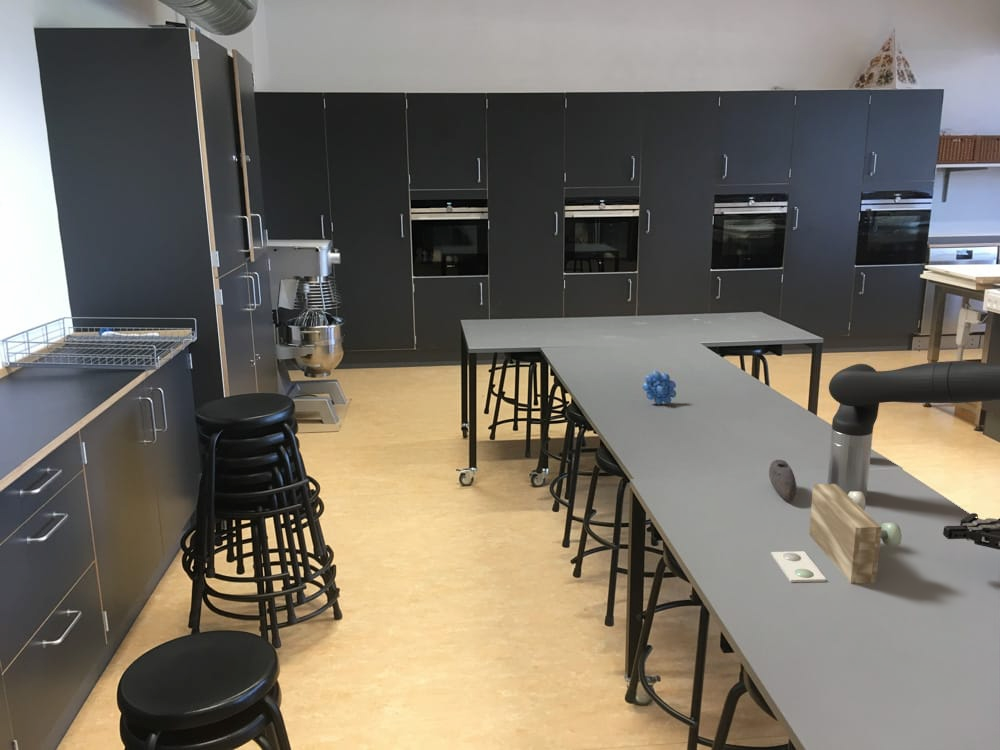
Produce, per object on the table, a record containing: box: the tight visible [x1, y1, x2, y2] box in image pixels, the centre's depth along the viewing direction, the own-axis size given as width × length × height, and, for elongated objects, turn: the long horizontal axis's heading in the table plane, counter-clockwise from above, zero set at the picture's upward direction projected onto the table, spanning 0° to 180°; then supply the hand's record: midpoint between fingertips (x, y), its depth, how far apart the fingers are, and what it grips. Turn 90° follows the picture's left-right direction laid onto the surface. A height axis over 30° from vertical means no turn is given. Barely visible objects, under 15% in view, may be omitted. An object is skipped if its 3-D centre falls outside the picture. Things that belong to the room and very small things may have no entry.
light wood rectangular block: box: [808, 483, 882, 584], centre depth 169 cm, size 5×22×12 cm, turn 0°
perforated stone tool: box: [768, 459, 797, 502], centre depth 203 cm, size 15×5×7 cm, turn 172°
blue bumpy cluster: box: [642, 370, 677, 406], centre depth 278 cm, size 12×7×12 cm, turn 87°
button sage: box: [880, 522, 902, 546], centre depth 160 cm, size 6×4×4 cm
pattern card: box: [770, 550, 827, 583], centre depth 167 cm, size 12×7×1 cm, turn 0°
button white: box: [848, 491, 866, 511], centre depth 176 cm, size 6×4×4 cm
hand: (945, 532), depth 160 cm, fingers closed
